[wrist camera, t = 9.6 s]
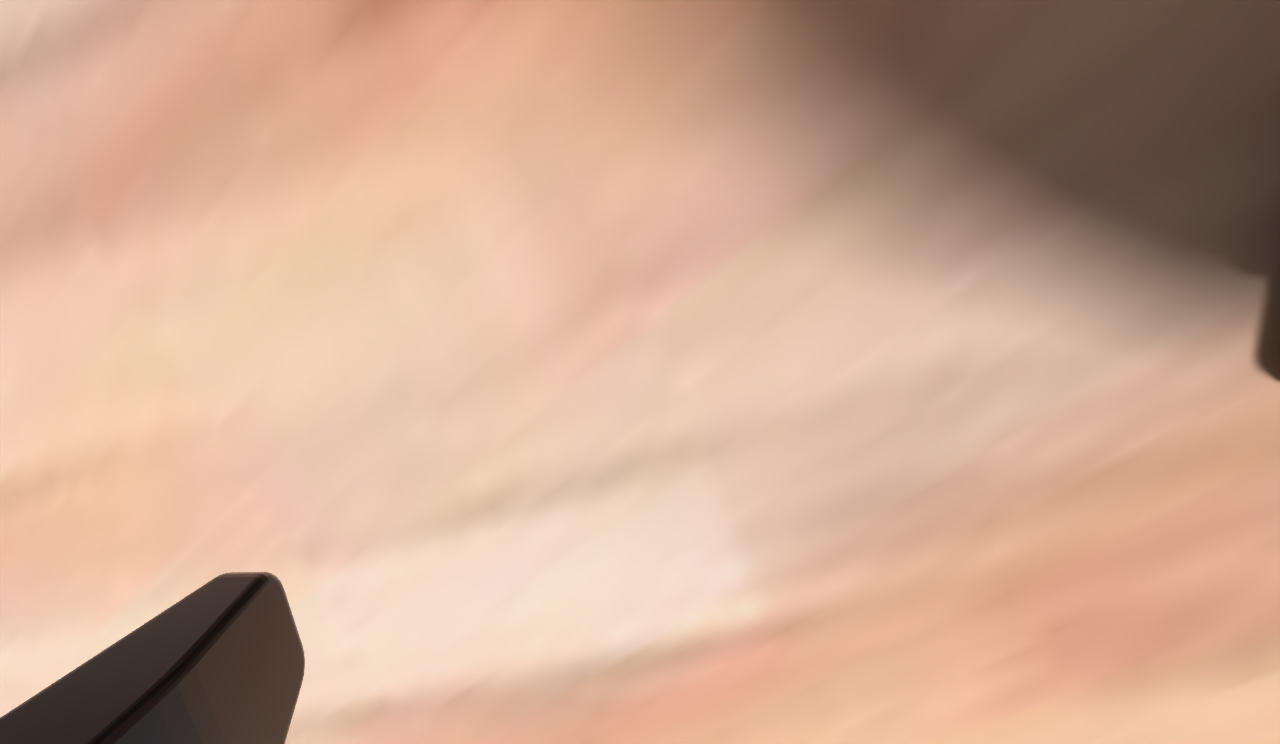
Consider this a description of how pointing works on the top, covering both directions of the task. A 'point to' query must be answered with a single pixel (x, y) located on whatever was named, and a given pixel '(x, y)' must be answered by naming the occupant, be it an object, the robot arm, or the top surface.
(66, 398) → the top surface
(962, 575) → the top surface
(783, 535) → the top surface
